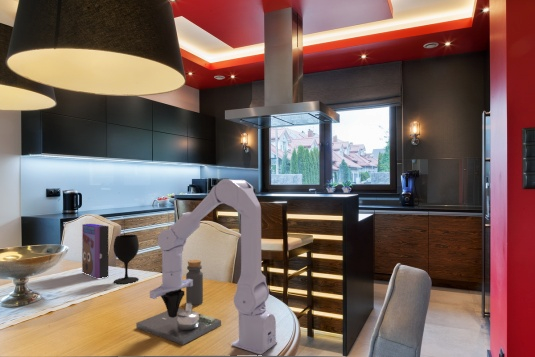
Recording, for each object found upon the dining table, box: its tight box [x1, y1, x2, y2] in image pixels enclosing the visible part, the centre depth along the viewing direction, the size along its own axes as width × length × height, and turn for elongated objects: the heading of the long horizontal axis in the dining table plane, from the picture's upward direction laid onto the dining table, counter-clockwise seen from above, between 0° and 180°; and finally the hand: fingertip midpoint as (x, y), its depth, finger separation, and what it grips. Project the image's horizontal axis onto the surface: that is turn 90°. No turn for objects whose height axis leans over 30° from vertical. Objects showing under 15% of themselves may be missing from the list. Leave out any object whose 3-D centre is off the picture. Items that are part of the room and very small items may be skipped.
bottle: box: [185, 259, 204, 307], centre depth 120 cm, size 6×6×15 cm
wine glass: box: [113, 234, 140, 285], centre depth 150 cm, size 10×10×20 cm
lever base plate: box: [135, 308, 222, 346], centre depth 100 cm, size 20×15×2 cm
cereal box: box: [81, 223, 109, 279], centre depth 160 cm, size 17×5×24 cm, turn 50°
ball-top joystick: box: [177, 303, 200, 330], centre depth 100 cm, size 12×6×4 cm, turn 12°
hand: (172, 316), depth 99 cm, fingers closed
